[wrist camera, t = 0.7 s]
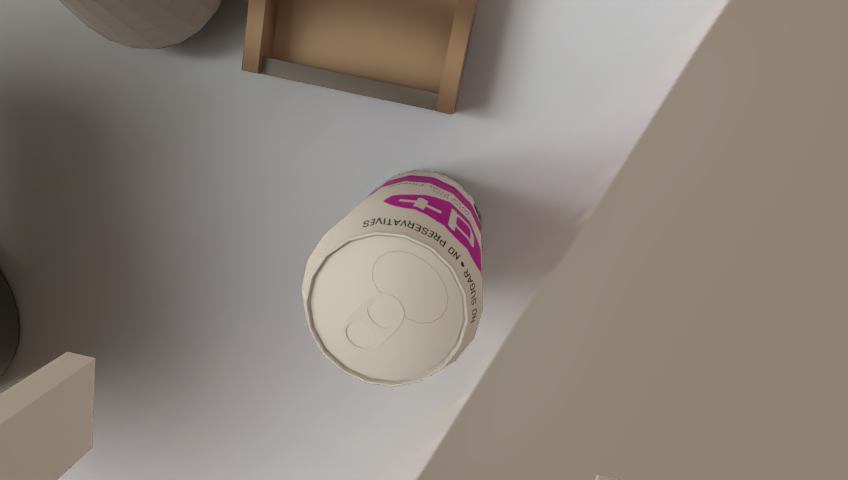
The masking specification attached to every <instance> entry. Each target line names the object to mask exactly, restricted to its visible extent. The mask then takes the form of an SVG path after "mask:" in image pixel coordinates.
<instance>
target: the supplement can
mask: <svg viewBox="0 0 848 480" xmlns="http://www.w3.org/2000/svg"><path fill="white" fill-rule="evenodd" d="M301 290H302V296H303V302H304V308H305V314H306V319H307V323H308V329H309V331H310V333H311V335H312V336H313V338H314V340H315V342H316V344H317V346H318V347H319V349H320V351H321V353H322V354H323V355H324V356H325V357H327V358H328V359H329V360H330V361H331V362H332V363H333V364H334V365H335V366H336V367H337V368H338V369H340V370H341V371H342V372H344V373H346V374H348V375H350V376H352V377H355V378H357V379H359V380H361V381H363V382H365V383H369V384H378V385H386V386H394V387H395V386H400V385H405V384H410V383H415V382H420V381H422V380H424V379H425V378H427V377H429V376H431V375H432V374H434V373H436V372H437V371H439V370H441V369H442V368H444V367H446V366H448V365H449V364H451V363H453V362H454V361H456V360H457V358H458V357H459V356H460V355H461V353H462V352H463V351H464V350H465V348H466V347H467V346H468V345H469V343H470V342H471V341H472V340H473V338H474V336H475V333H476V330H477V326H478V323H479V320H480V317H481V313H482V310H483V253H482V224H481V215H480V213H479V211H478V209H477V206H476V204H475V202H474V200H473V198H472V196H471V195H470V194H469V193H468V192H467V191H466V190H465V189H464V188H463V187H462V186H461V185H460V184H459V183H458V182H457V181H455V180H453V179H451V178H449V177H447V176H445V175H442V174H440V173H438V172H433V171H422V170H413V171H409V172H405V173H402V174H398V175H394V176H393V177H391V178H390V179H389V180H387V181H386V182H384V183H383V184H382V185H380V186H379V187H377V188H376V189H375V190H374V191H373V192H372V193H371V194H370V195H368V196H367V197H366V198H365V199H364V200H363V201H362V202H361V203H359V204H358V205H357V206H356V207H355V208H354V209H353V210H352V211H350V212H349V213H348V214H347V215H346V216H345V217H344V218H343V219H341V220H340V221H339V222H338V223H337V224H336V225H335V226H334V227H332V228H331V229H330V230H329V231H328V232H327V233H326V234H325V235H324V236H323V237H322V239H321V240H320V242H319V243H318V245H317V246H316V248H315V249H314V251H313V252H312V254H311V256H310V257H309V259H308V260H307V265H306V269H305V274H304V279H303V284H302V289H301Z"/></svg>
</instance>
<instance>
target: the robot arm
mask: <svg viewBox="0 0 848 480" xmlns="http://www.w3.org/2000/svg"><path fill="white" fill-rule="evenodd" d="M18 336H19V323H18V315H17V310H16V306H15V302H14V299H13V296H12V294H11V291H10V289H9V287H8V285H7V283H6V281H5V279H4V277H3V276H2V274H1V272H0V376H1V375H2V374H3V373H4V371H5V370H6V369H7V368H8V366H9V364H10V363H11V361H12V359H13V357H14V354H15V351H16V348H17V343H18ZM94 385H95V358H93V357H88V356H84V355H80V354H75V353H71V352H66V353H64V354H63V355H61V356H59V357H58V358H56V359H55V360H53V361H51V362H50V363H48V364H47V365H45V366H44V367H42V368H40V369H39V370H37V371H36V372H34V373H32V374H31V375H29V376H28V377H26V378H25V379H23V380H21V381H20V382H18V383H17V384H15V385H13V386H12V387H10V388H9V389H7V390H6V391H4V392H2V393H1V394H0V480H58V479H59V478H60V477H61V476H62V475H63V474H64V473H65V472H66V471H67V470H68V469H70V468H71V467H72V466H73V465H74V464H75V463H76V462H77V461H78V460H79V459H80V458H81V457H83V456H84V455H85V454H86V453H87V452H88V451H89V450H90V449H91V448H92V441H93V413H94ZM596 480H618V479H614V478H610V477H605V476H601V475H597V476H596Z"/></svg>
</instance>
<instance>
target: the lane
mask: <svg viewBox="0 0 848 480" xmlns="http://www.w3.org/2000/svg"><path fill="white" fill-rule="evenodd" d="M477 3H478V0H249V3H248V13H247V23H246V32H245V42H244V52H243V62H242V70H244V71H249V72H254V73H260V74H265V75H270V76H275V77H279V78H284V79H289V80H293V81H298V82H303V83H308V84H312V85H317V86H322V87H326V88H331V89H336V90H341V91H345V92H350V93H355V94H360V95H364V96H369V97H374V98H378V99H383V100H388V101H393V102H397V103H402V104H407V105H412V106H416V107H421V108H426V109H430V110H435V111H438V112H443V113H448V114H453V113H454V111H455V107H456V102H457V97H458V93H459V88H460V83H461V78H462V74H463V69H464V64H465V59H466V55H467V50H468V45H469V40H470V36H471V31H472V26H473V22H474V17H475V12H476V7H477Z"/></svg>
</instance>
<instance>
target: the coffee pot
mask: <svg viewBox="0 0 848 480" xmlns="http://www.w3.org/2000/svg"><path fill="white" fill-rule="evenodd" d="M60 1H61V2H62V3H63V4H64V5H65V6H66V7H67V8H68V9H69V10H70V11H72V12H73V13H74V14H75V15H76V16H77V17H78V18H79V19H80V20H81V21H82V22H83V23H85V24H86V25H87V26H88V27H90V28H91V29H93V30H94V31H96V32H98V33H99V34H101V35H102V36H104V37H105V38H107V39H109V40H111V41H114V42H117V43H120V44H123V45H126V46H129V47H132V48H148V49H159V48H162V47H166V46H170V45H173V44H177V43H181V42H183V41H184V40H186V39H187V38H189V37H190V36H192V35H194V34H195V33H197V32H198V31H200V30H201V29H202V28H203V27H204V25H205V24H206V23H207V22H208V21H209V20H210V18H211V17H212V16H213V15H214V14H215V12H216V11H217V10H218V8H219V6H220V4H221V2H222V0H60Z"/></svg>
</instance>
